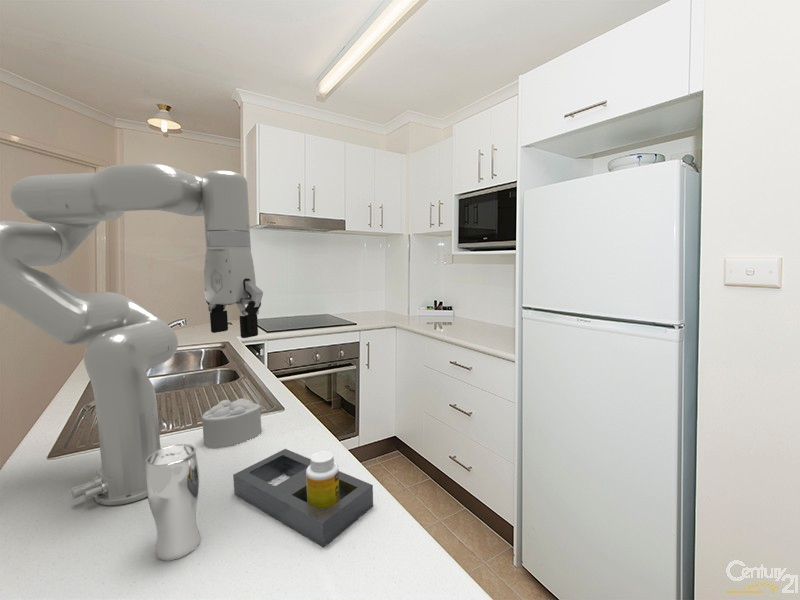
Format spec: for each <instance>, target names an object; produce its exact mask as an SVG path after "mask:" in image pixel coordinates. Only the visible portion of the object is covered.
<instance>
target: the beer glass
mask: <svg viewBox="0 0 800 600" xmlns="http://www.w3.org/2000/svg"><path fill="white" fill-rule="evenodd" d="M196 448H197V447H195V446H194V445H192V444H188V443H187V444H186V443H178V444H173V445H169V446H165V447H162V448H161V449H159V450H157V451H155V452H153V453H152V454H150V455H149V456H148V457H147V458H146V490H147V497H146V498H147V500H148V505H149V508H150V511H151V514H152V517H153V521H154V523H155V527H156V528H155V529H156V544H155V545H156V546H155V556H156V558H157V559H159V560H161V561H165V560H166V561H168V560H169V561H175V560H178V559H180V558H183V557H186V556H187V555H189V554H191V553H192V552H193V551H194V550H195V549H196V548H197V547H198V546H199V545H200V543H201V533H200V529H199V526H198V524H197V507H198V501H199V500H198V499H199V493H200V471H199V464H198V457H197V452H196V451H197V450H196ZM166 561H165V562H166Z"/></svg>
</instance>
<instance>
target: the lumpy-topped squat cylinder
mask: <svg viewBox="0 0 800 600" xmlns="http://www.w3.org/2000/svg"><path fill="white" fill-rule="evenodd" d="M261 414H262V413H261V405H260V404H258V403H255V402H252V401H251V400H249V399H246V398H243V397H242V398H238V399H236V400H234V401H231V400H229V399H224V400H220V401H219V402H218V403H217V404H216V405H214V406H212V407H211V408H210V409H209V410H207V411H205V412H204V413H203V414H202V418H201V419H202V432H203V433H202V435H203V437H202V438H203V446H204V447H205V448H207V447H208V448H207V449H222V448H230V447H235V446H238V445H241V444H244V443H246V442H248V441H247V440H249V441H251V440H253V439H256V438H257V436H258V435H259V434H260V435H262V433H261V432H262V431H263V430H262V416H261ZM260 435H259V436H260ZM259 436H258V437H259ZM255 437H256V438H255ZM252 438H253V439H252ZM250 439H251V440H250ZM245 441H246V442H245ZM243 442H244V443H243ZM240 443H241V444H240ZM237 444H238V445H237Z"/></svg>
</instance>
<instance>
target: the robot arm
mask: <svg viewBox="0 0 800 600" xmlns="http://www.w3.org/2000/svg"><path fill="white" fill-rule="evenodd" d="M10 200H11V202H12V204H13V206H14V207H15V208H16V209H17V211H18V212H20V213H21V214H22V215H23V216H26V217H27V218H29V219H31V220H34V221H36V222H37V221H38V222H40V223H34V222H22V221H12V220H4V219H3V220H0V304H2V305H3V306H5V307H6V308H8V309H9V310H11V311H12V312H14V313H16V315H18V316H20V317H21V318H23V319H24V320H26V321H27V322H29V323H30V324H32V325H33V326H35V327H36V328H37V329H39V330H41V332H43V333H46V335H48V336H50V337H51V338H53V339H54V340H55V341H58V342H59V343H61V344H64V345H68V346H70V345H71V346H78V345H83V344H87V346H86V347H85V348H84V349H85V350H84V353H83V362H84V366H85V370H86V372H87V375H88V378H89V380H90V384H91V387H92V391H93V396H94V397H93V398H94V403H95V411H96V412H95V413H96V419H97V420H96V421H97V429H98V430H97V431H98V440H99V448H100V449H99V451H100V460H101V469H100V470H98V471H96V477H94V478H92V479H91V481H88V482H85V483H82V484H79V485H77V486H74V487H71V488H70V496H71V499H73V500H74V499H77V498H80V497H82V496H84V497H85V499H86V500H88V499H90V498H92V497H93V498H94V500H95V502H96V503H98V504H100V505H105V506H119V505H125V504H131V503H134V502H137V501H139V500H140V501H141V500H143V499H145V498H148V497H147V490H146V458H147V457H148V456H149V455H150V454H152V453H153V452H155V451H157V450H159V449H162V448H161V439H160V438H161V437H160V427H159V425H160V424H159V414H158V413H159V412H158V403H157V394H156V390H155V387H154V385H153V383H152V381H151V380H150V378H149V375H148V374H147V371H148V370H150V369H153V368H155V367H157V366H159V365H162V364H164V363H165V362H168V361H169V360H170V359H172V358H173V357H174V356H175V354H176V353H177V350H178V346H179V340H178V336H177V334H176V332H175V330H174V329H172V327H171V326H170V325H169V324H168V323H167V322H165V321H164V320H162V319H160V318H159V317H158V316H157V315H155V314H154V313H152V312H151V311H149V310H148V309H146V308H145V307H143V306H141V305H140V304H139V303H137V302H136V301H134V300H133V299H131V298H130V297H127V296H125V295H123V294H120V293H117V292H112V291H102V292H101V291H100V292H99V291H98V292H92V293H87V292H86V293H85V292H80V291H77V290H74V289H73V288H71V287H69V286H68V285H66V284H64V283H62V282H61V281H60V280H59V279H57V278H56V277H54V276H52V275H51V274H48V273H46V272H44V271H41V270H38V269H35V268H33V267H47V266H55V265H59V264H60V263H62V262H65V261H66V260H67V259H69V257H71V256H72V255H73V254H74V252H75V251H76V250H78V248H79V247H80V246H81V245H82V244H83V243H84V241H86V239H87V238H88V237H89V236H90V235H91V234H92V232H94V231H95V229H96V228H97V227H98V225H99V224H100V223H101V222H103V221H104V222H106V221H107V222H109V221H116V220H118V219H120V218H121V217H122V216H123V215H124V213H125V212H129V211H130V212H131V211H133V212H134V211H160V212H167V213H173V214H178V215H183V216H188V217H203V218H204V219H203V220H204V221H203V222H204V223H203V224H204V231H205V232H204V234H205V235H204V237H205V249H206V251H205V255H204V266H203V267H204V269H203V270H204V271H203V273H204V275H203V276H204V278H203V281H204V282H203V283H204V284H203V285H204V288H203V291H204V299H205V302H206V304H207V305H208V306H207V310H208V313H209V321H210V323H209V324H210V332H211V333H212V334H216V333H221V332H227V331H228V330H229V323H228V322H229V321H228V319H229V318H228V310H225V309H226V307H227V306H233V305H235V304H236V306H237V308H238V310H239V312H240V313H241V315H239V329H240V330H239V331H240V338H241V339H248V338H253V337H257V336H258V335H259V326H258V315H259V313H260V308H261V306H262V299H263V295H264V291H263V290H262V289H261V288H260V287H258V286H257V283H256V282H257V281H256V274H255V272H256V271H255V266H254V260H253V255H252V251H251V250H252V246H251V245H252V244H251V229H250V226H251V225H250V210H249V191H248V182H247V179H246V177H245V176H244V175H243V174H242V173H239V172H235V171H231V170H220V169H218V170H217V169H216V170H211V171H207V172H204V174H203V175H202V176H198V175H196V174H193V173H189V172H186V171H184V170H182V169H179V168H177V167H173V166H170V165H167V164H162V163H128V164H127V163H125V164H124V163H123V164H115V165H113V164H112V165H110V166H107V167H105V168H103V169H101V170H99V171H97V172H81V173H77V172H76V173H56V174H55V173H53V174H37V175H31V176H30V175H29V176H26V177H23V178H21V179H19V180H18V181H16V182H15V184H14V185H13V186H12V187H11V190H10Z"/></svg>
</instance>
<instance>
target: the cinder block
mask: <svg viewBox="0 0 800 600" xmlns="http://www.w3.org/2000/svg"><path fill="white" fill-rule="evenodd" d="M309 465H310V457H309V458H308V457H306V456H304V455H301V454H299V453H297V452H294V451H292V450H289V449H287V448H284V449H282V450H279V451H277V452H276V453H274V454H271V455H270V456H268V457H266V458H263V459H262V460H260V461H257V462H256V463H254V464H251V465H250V466H248V467H245V468H244V469H242V470H240V471H237V472H236V473H234V474H233V491H234V496H236V497H238V498H240V499H241V500H243V501H244V502H246V503H248V504H250V505H251V506H253V507H255V508H256V509H259V510H260V511H261V512H263V513H265V514H266V515H268V516H270V517H272V518H273V519H275V520H277V521H279V522H280V523H282V524H283V525H285V526H287V527H289V528H291V529H292V530H294V531H295V532H297V533H299V534H300V535H302V536H304V537H306V538H308V540H311V541H312V542H314V543H316V544H317V545H319V546H321V547H322V548H325V547H326V546H327V545H329V544H330V543H331V542H332V541H333V540H334V539H336V537H338V536H339V535H340V534H342V533H343V532H344V531H345V530H346V529H348V528H349V527H350V526H351V525H352V524H353V523H355V522H356V521H357V520H359V518H361V517H362V516H363V515H365V514H366V513H367V512H368V511H369V510H370V509H372V508H373V507H374V490H373V489H374V488H373V487H374V485H373V484H371V483H369V482H366V481H364V480H362V479H359V478H356V477H354V476H352V475H349V474H347V473H345V472H342V471H340V470H339V501H338V502H337V503H336V504H334V505H333V506H332V507H330V508H329V509H328V510H326V511H325V512H324V511H322V510H320V509H318V508H316V507H314V506H312V505H310V504H308V503H307V485H306V470H307V468H308V466H309ZM283 474H285V475H287V476H288V478H287V479H285V480H283V481H281V482H280V483H278V484H277V485H273V484H271V483H270V482H271V481H272V480H274V479H276V478H277V477H279V476H281V475H283Z"/></svg>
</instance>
